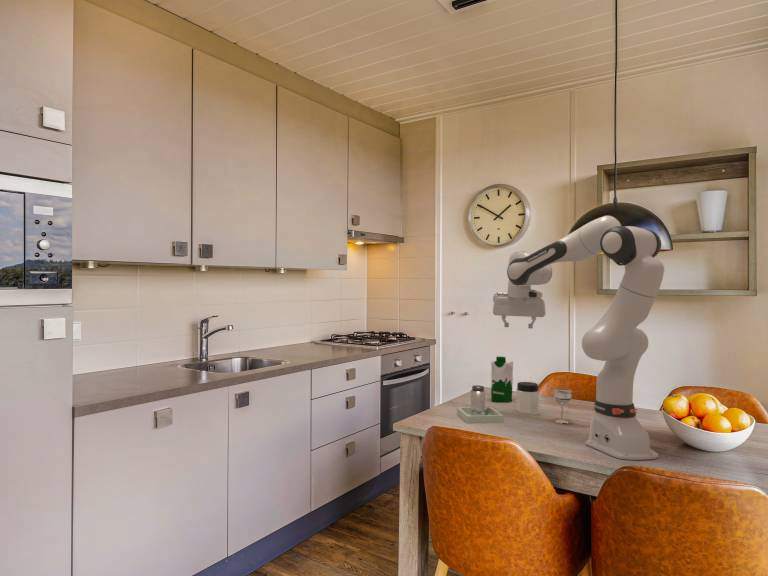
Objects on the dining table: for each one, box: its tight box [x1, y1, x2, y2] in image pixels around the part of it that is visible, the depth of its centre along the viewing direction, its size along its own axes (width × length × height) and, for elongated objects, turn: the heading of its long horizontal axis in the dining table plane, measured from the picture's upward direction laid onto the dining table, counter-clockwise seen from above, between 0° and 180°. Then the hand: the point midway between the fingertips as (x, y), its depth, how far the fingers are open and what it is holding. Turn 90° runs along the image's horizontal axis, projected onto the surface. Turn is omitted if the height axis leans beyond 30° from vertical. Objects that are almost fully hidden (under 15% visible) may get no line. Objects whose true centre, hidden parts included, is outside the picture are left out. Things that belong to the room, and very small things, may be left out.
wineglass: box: [552, 388, 573, 424], centre depth 199 cm, size 7×7×12 cm
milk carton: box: [490, 356, 514, 404], centre depth 232 cm, size 9×9×20 cm
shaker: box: [470, 385, 486, 416], centre depth 198 cm, size 5×5×12 cm
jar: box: [515, 381, 540, 416], centre depth 212 cm, size 9×8×12 cm
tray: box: [456, 406, 505, 424], centre depth 200 cm, size 14×14×3 cm
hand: (518, 327), depth 207 cm, fingers open, 8 cm apart
